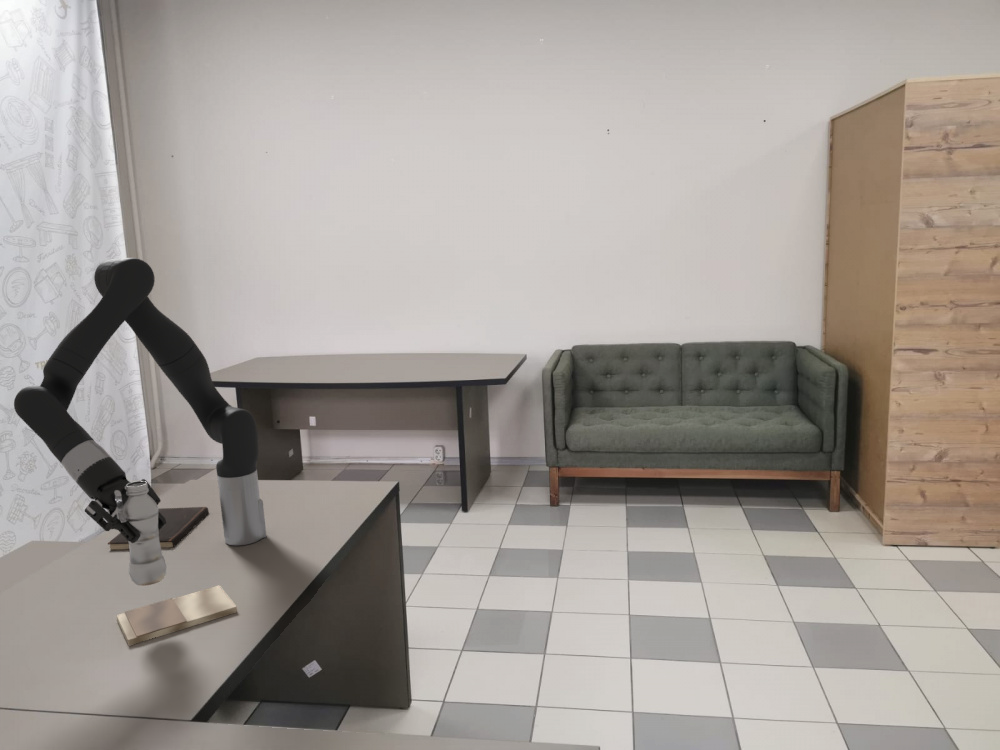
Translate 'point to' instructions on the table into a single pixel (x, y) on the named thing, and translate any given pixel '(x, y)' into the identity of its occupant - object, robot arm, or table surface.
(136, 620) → the board
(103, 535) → the table surface
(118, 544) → the hardcover book
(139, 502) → the plastic bottle
